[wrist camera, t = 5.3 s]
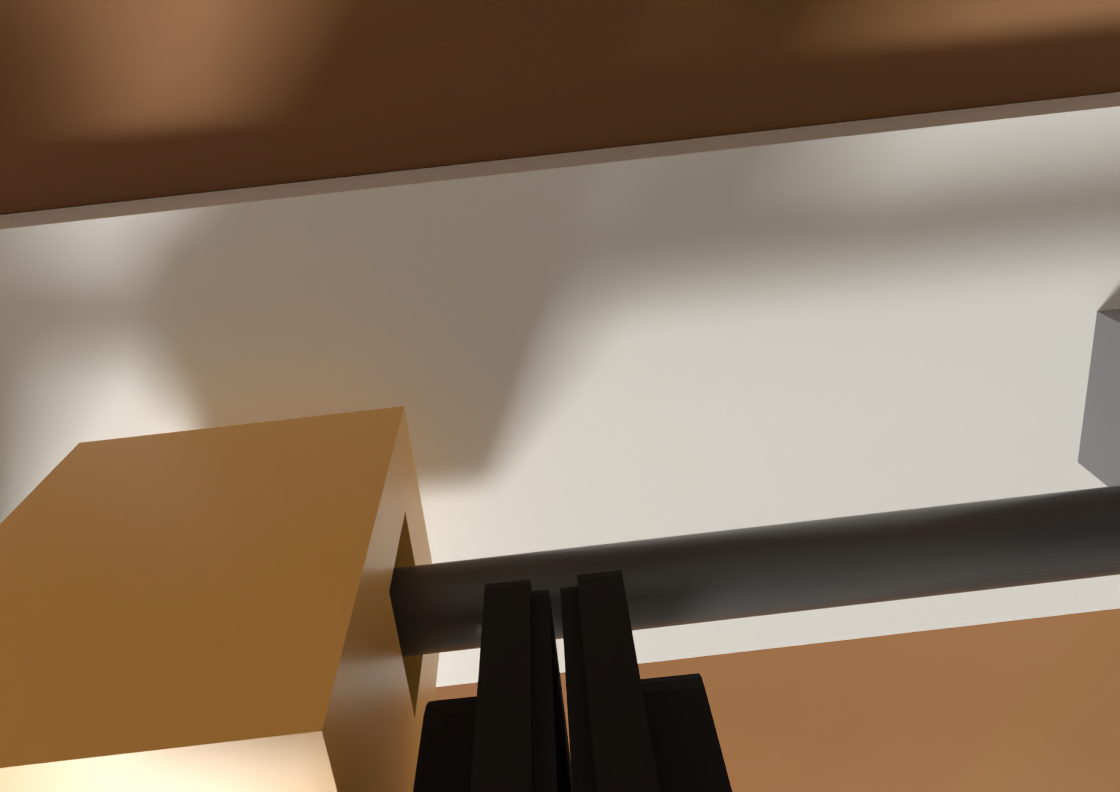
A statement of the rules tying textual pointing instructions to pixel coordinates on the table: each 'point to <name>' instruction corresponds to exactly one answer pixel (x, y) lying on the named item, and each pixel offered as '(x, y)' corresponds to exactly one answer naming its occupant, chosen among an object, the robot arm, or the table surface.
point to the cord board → (647, 366)
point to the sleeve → (215, 613)
